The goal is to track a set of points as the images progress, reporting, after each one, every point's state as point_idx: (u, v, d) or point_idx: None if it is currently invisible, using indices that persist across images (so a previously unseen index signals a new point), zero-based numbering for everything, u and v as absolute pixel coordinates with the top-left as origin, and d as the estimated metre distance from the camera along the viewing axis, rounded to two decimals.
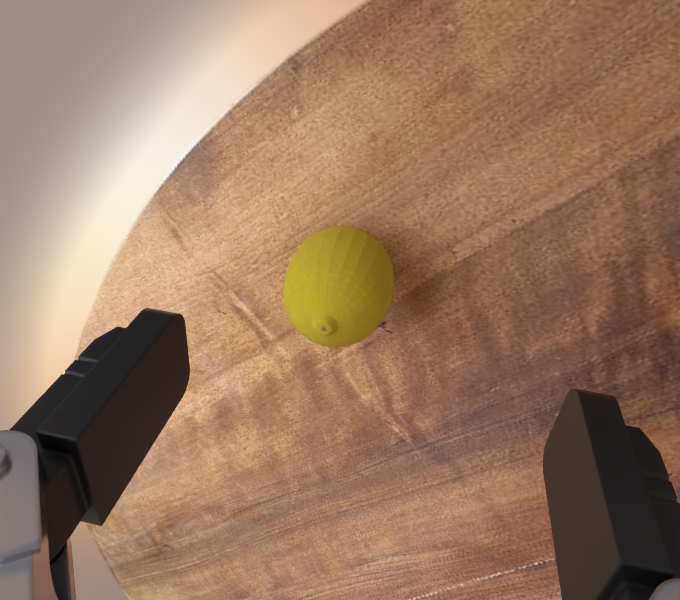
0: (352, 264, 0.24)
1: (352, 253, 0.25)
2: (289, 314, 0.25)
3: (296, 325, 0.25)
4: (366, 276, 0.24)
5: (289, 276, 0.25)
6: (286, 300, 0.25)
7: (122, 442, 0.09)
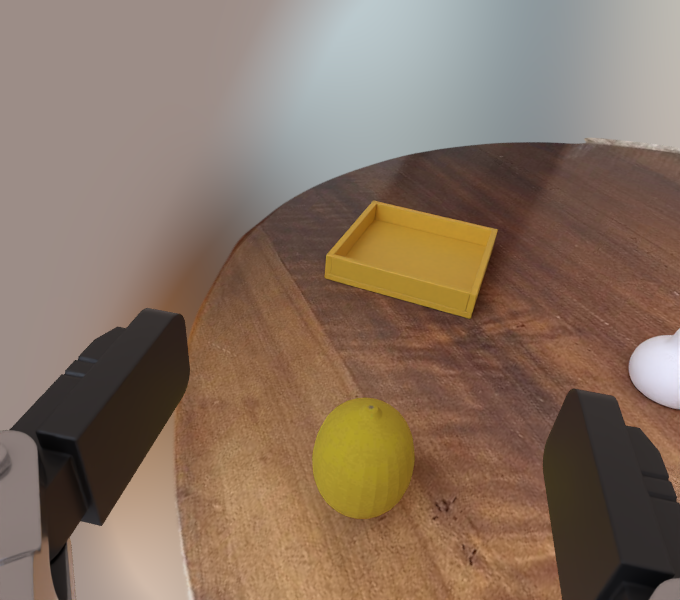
0: None
1: None
2: (364, 454, 0.26)
3: (374, 447, 0.26)
4: None
5: (331, 459, 0.27)
6: (350, 456, 0.26)
7: (123, 442, 0.09)
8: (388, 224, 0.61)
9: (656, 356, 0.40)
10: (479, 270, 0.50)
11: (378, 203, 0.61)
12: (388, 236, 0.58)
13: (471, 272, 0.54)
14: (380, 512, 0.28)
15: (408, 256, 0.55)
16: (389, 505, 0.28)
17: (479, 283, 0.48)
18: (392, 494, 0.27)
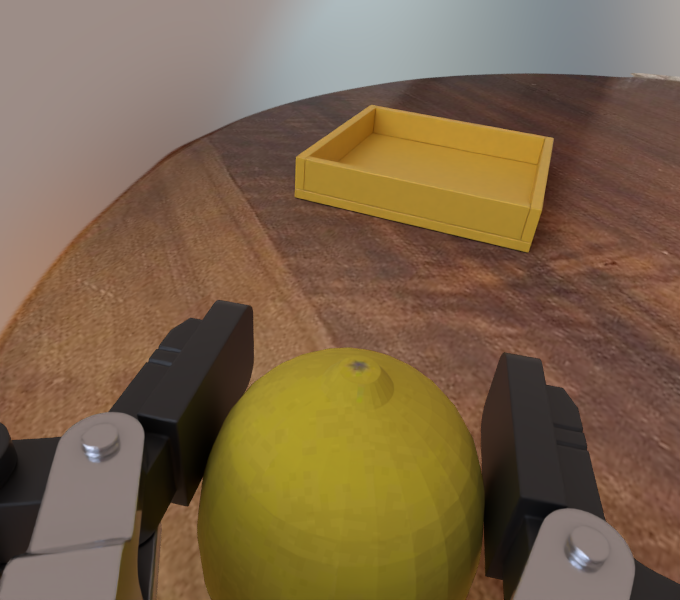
0: None
1: None
2: (334, 522, 0.08)
3: (370, 497, 0.08)
4: None
5: (231, 533, 0.08)
6: (288, 529, 0.08)
7: (206, 426, 0.10)
8: (392, 138, 0.42)
9: None
10: (538, 180, 0.32)
11: (378, 107, 0.42)
12: (393, 150, 0.40)
13: (520, 192, 0.35)
14: None
15: (423, 172, 0.37)
16: None
17: (542, 195, 0.30)
18: None
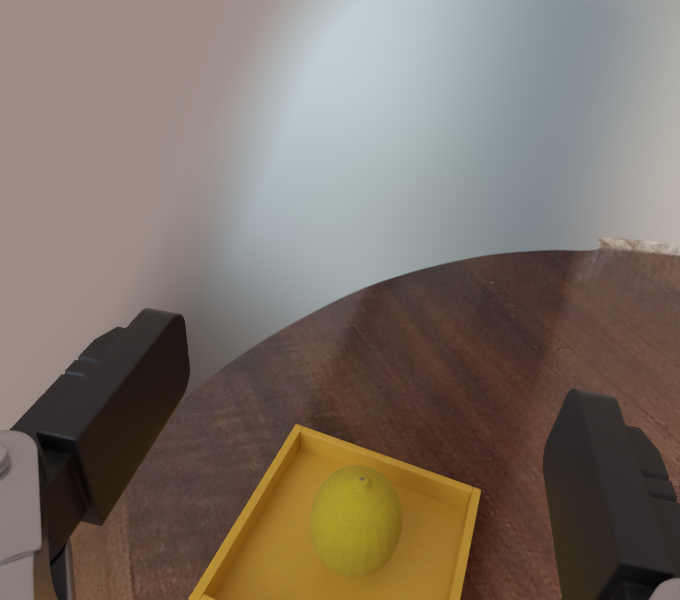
0: None
1: None
2: (355, 523, 0.29)
3: (365, 516, 0.29)
4: None
5: (326, 526, 0.30)
6: (343, 525, 0.29)
7: (122, 442, 0.09)
8: (318, 460, 0.41)
9: None
10: None
11: (302, 430, 0.40)
12: (314, 494, 0.38)
13: (437, 590, 0.33)
14: (370, 572, 0.31)
15: None
16: (379, 566, 0.31)
17: None
18: (381, 557, 0.30)
